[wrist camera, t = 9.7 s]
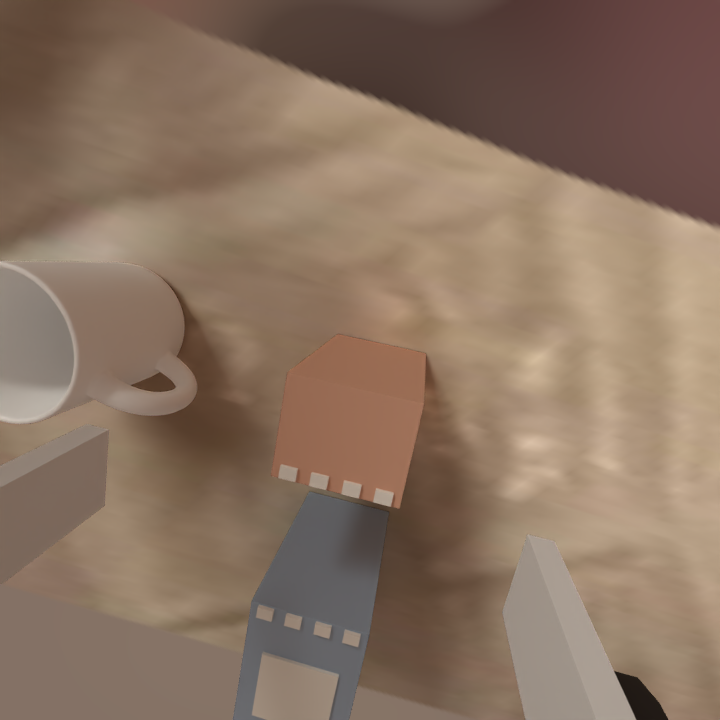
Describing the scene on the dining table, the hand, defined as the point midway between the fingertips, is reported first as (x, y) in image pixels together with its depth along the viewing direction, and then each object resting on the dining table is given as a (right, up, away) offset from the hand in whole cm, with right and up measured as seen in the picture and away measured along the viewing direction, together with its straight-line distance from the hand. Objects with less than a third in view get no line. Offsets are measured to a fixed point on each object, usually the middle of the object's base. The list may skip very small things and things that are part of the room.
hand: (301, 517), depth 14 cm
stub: (+3, +3, +17) cm, 17 cm away
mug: (-13, +7, +19) cm, 24 cm away
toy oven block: (0, -9, +20) cm, 22 cm away
